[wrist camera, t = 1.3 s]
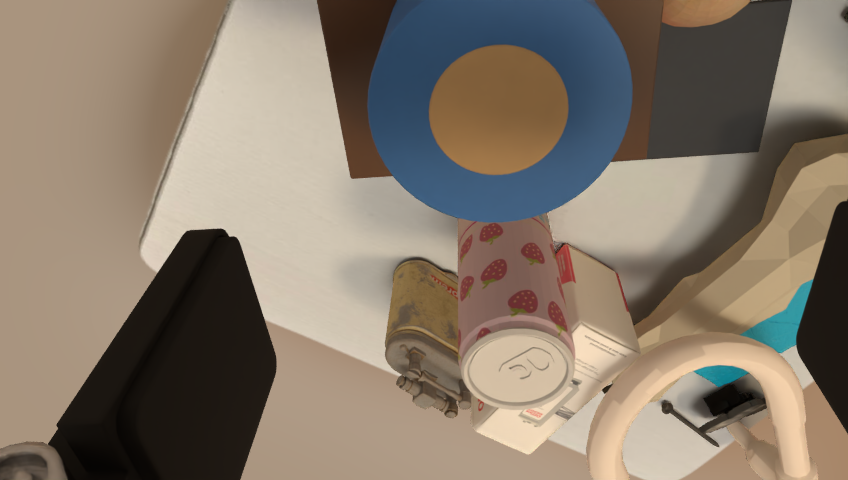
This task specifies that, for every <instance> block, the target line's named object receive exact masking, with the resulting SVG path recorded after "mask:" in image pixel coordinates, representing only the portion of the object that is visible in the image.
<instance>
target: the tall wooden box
mask: <svg viewBox="0 0 848 480" xmlns="http://www.w3.org/2000/svg"><path fill="white" fill-rule="evenodd" d="M396 1H397V0H317V4H318V9H319V14H320V19H321V25H322V30H323V35H324V40H325V46H326V51H327V56H328V61H329V67H330V72H331V77H332V82H333V88H334V93H335V98H336V103H337V108H338V114H339V119H340V124H341V129H342V135H343V140H344V145H345V150H346V156H347V161H348V166H349V171H350V177H351V178H352V179H355V178H370V177H385V176H393V175H392V174H391V173H390V171H389V170H388V168H387V167H386V166H385V164H384V162H383V160H382V158H381V157H380V155H379V153H378V151H377V148H376V145H375V143H374V140H373V138H372V133H371V129H370V125H369V118H368V107H367V106H368V89H369V83H370V78H371V73H372V70H373V67H374V64H375V61H376V58H377V55H378V52H379V49H380V46H381V43H382V40H383V37H384V34H385V31H386V28H387V25H388V22H389V19H390V16H391V13H392V10H393V7H394V5H395V3H396ZM594 1H595V2H596V4H597V5H598V7H599V8H600V10H601V11H602V12H603V14H604V15H605V17H606V18H607V20H608V21H609V23H610V24H611V26H612V27H613V29H614V30H615V32H616V33H617V35H618V36H619V38H620V41H621V43H622V45H623V47H624V50H625V52H626V55H627V58H628V62H629V66H630V69H631V77H632V85H633V89H632V107H631V113H630V119H629V122H628V126H627V129H626V132H625V135H624V137H623V140H622V142H621V144H620V146H619V148H618V150H617V152H616V154H615V155H614V157H613V158H612V160H611V161H623V160H638V159H646V157H647V149H648V140H649V131H650V122H651V113H652V104H653V95H654V86H655V77H656V68H657V59H658V50H659V41H660V32H661V23H662V14H663V5H664V0H594Z"/></svg>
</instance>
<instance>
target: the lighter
mask: <svg viewBox="0 0 848 480" xmlns="http://www.w3.org/2000/svg"><path fill="white" fill-rule="evenodd" d="M385 347H386V352H385V357H386V360H387V362H388V364H389V365H390V366H391V367H392V368H393V369H394V370H395V371H397V372H398V373H400V374H402V375H401V376H400V377H399V378H398V380H397V383H396V384H397V386H399V387H400V388H401V389H403V390H406V392H408V393H410V394H411V395H413V403H415V404H416V405H417V406H419V407H421V408H424V409H427V408H429V407H431V406H433V407H434V408H436V409H439V410H440V411H442V412H444V414H445V416H446V417H449V418H454V417H456V416H457V414H458V406H457V404H456V401H459V407H460V408H461V409H469V408H470V407H471V397H472V396H473V394H472V392H471V391H470V390H469V389H468V388H467V387H466V385H465V383H464V381H463V379H462V375H461V370H460V366H459V362H458V277H457V276H456V275H455V274H452V273H448V272H445V273H444V272H442V271H441V270H439V269H438V268H436V267H435V266H433V265H432V264H430V263H429V262H426V261H422V260H411V261H407V262H404V263H403V264H401V265H400V266H398V267H397V269H396V270H395V272H394V275H393V290H392V297H391V304H390V311H389V319H388V326H387V333H386V340H385ZM403 375H404V376H405V377H404V376H403ZM444 398H445V399H444Z"/></svg>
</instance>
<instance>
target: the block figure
mask: <svg viewBox="0 0 848 480" xmlns="http://www.w3.org/2000/svg"><path fill="white" fill-rule="evenodd" d="M704 401H705V402H706V404H707V406H708V407H709V409H710V412H711V413H712V415H713V416H717V415H720V414H723V413H725V414H724V415H722V416H720V417H718V418H716V419H714V420H712V421H710V422H707V423H705V425H703V426H702V427H700V428H699V430H700V432H701V433H711V432H713V431H715V430H718V429H720V428H723V427H726V426H728V425H730V424H732V423H734V422H736V421H738V420H740V419H742V418H743V417H745V416H750V415H752V414H755V413H757V412H759V411H761V410H763V409H766V408H767V405H766V400H765V398H762V399H755V396H754V395H753V393H750V394H746V393H745V392H743V393H741V394H739V392H738V390H737V389H736V387H735V386H734V384H731V385H729V386H727V387H726V388H724V389H722V390H720V391H718V392H716V393H714V394H712V395H710V396H708V397H706V398H704Z"/></svg>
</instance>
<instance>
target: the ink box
mask: <svg viewBox="0 0 848 480" xmlns="http://www.w3.org/2000/svg"><path fill="white" fill-rule="evenodd" d="M556 260H557V265H558V269H559V274H560V279H561V284H562V289H563V294H564V298H565V303H566V308H567V313H568V318H569V322H570V327H571V332H572V337H573V342H574V347H575V357H576V358H575V372H574V376H573V379H572V381H571V382H570V384H569V386H568V387H567V389H566V390H565V391H564V392H563V393H562V394H561V395H560V396H559V397H557V398H556V399H555V400H553V401H551V402H549V403H547V404H545V405H542V406H539V407H536V408H532V409H525V410H508V409H501V408H497V407H494V406H491V405H489V404H486V403H484V402H482V401H481V400H480V399H478V398H477V397H475V396H474V395H473V396H472V397H471V425H472V427H473V428H474V430H475V431H476V432H478V433H480V434H482V435H484V436H486V437H489V438H491V439H493V440H495V441H498V442H500V443H502V444H505V445H507V446H509V447H512V448H514V449H516V450H519V451H521V452H523V453H526V454H528V455H529V454H530V453H532V452H533V451H534V450H535V449H536V448H537V447H539V446H540V445H541V444H542V443H543V442H544V441H545V440H546V439H548V438H549V437H550V436H551V435H552V434H553V433H554V432H555V431H556V430H557V429H559V428H560V427H561V426H562V425H563V424H564V423H565V422H566V421H568V420H569V419H570V418H571V417H572V416H573V415H574V414H575V413H576V412H578V411H579V410H580V409H581V408H582V407H583V406H584V405H585V404H587V403H588V402H589V401H590V400H591V399H592V398H593V397H594V396H596V395H597V394H598V393H599V392H600V391H601V390H602V389H603V388H604V387H606V386H607V385H608V384H609V383H610V382H611V381H612V380H614V379H615V378H616V377H617V376H618V375H619V374H620V373H621V372H622V371H623V370H625V369H626V368H627V367H628V366H629V365H630V364H631V363H633V362H634V361H635V360H636V359H637V358H638V357H639V356H640V355H641V350H640V346H639V343H638V340H637V336H636V333H635V330H634V326H633V323H632V319H631V316H630V313H629V310H628V306H627V303H626V300H625V296H624V293H623V289H622V286H621V282H620V279H619V276H618V274H617V273H616V272H614V271H613V270H611V269H610V268H608V267H606V266H605V265H603V264H602V263H600V262H598V261H597V260H595V259H594V258H592V257H590V256H588V255H587V254H585V253H583V252H581V251H579V250H577V249H575V248H574V247H572V246H570V245H568V244H565V245H564V246H563V247H562V248H561V249H560V250H559V251H558V252H557V254H556Z"/></svg>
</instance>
